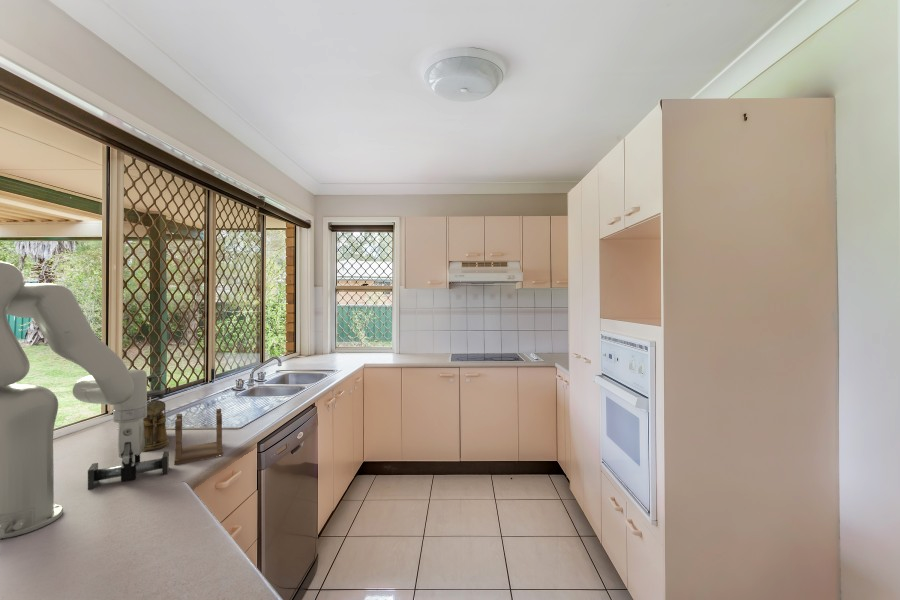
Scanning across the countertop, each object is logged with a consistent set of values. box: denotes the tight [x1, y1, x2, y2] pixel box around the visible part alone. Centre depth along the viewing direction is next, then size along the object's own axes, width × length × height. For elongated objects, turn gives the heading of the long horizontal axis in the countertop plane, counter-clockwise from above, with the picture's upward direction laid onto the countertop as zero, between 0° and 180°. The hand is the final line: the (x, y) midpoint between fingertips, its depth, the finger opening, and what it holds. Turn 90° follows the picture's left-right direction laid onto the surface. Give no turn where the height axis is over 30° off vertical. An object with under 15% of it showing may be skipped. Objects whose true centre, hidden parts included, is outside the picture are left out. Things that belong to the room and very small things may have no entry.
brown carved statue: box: [142, 399, 170, 452], centre depth 134 cm, size 9×14×18 cm, turn 40°
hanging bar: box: [87, 450, 170, 490], centre depth 112 cm, size 5×17×5 cm, turn 122°
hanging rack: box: [173, 408, 224, 466], centre depth 129 cm, size 12×13×13 cm
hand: (130, 474), depth 112 cm, fingers open, 7 cm apart
